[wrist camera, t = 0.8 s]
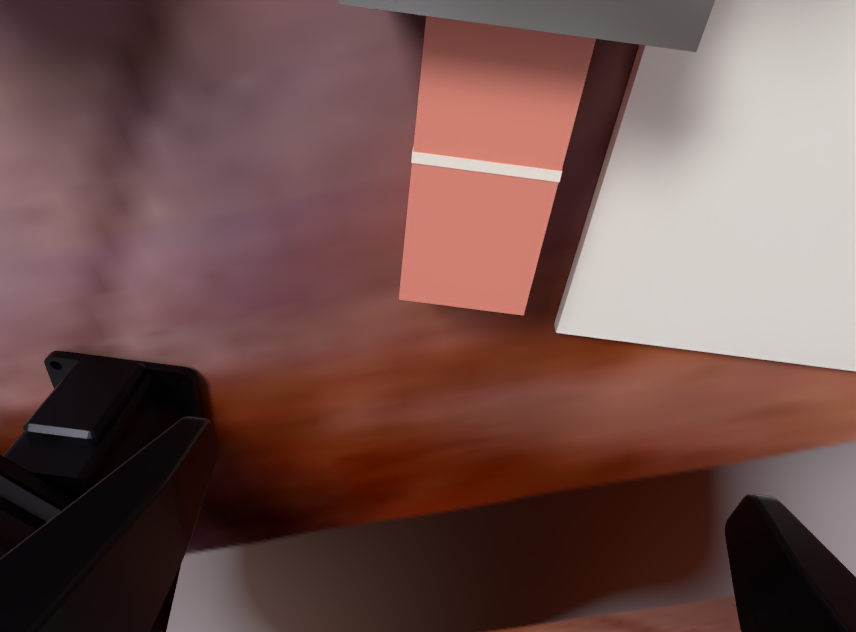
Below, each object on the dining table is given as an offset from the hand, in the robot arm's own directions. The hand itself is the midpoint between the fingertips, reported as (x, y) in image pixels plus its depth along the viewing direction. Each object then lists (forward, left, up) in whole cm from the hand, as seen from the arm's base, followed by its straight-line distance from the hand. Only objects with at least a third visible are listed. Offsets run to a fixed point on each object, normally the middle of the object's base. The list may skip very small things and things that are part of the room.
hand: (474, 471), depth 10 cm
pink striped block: (+4, 0, -12) cm, 13 cm away
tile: (+1, -10, -12) cm, 16 cm away
